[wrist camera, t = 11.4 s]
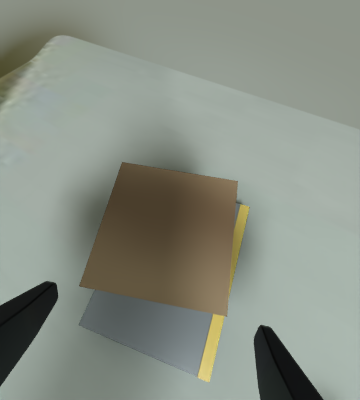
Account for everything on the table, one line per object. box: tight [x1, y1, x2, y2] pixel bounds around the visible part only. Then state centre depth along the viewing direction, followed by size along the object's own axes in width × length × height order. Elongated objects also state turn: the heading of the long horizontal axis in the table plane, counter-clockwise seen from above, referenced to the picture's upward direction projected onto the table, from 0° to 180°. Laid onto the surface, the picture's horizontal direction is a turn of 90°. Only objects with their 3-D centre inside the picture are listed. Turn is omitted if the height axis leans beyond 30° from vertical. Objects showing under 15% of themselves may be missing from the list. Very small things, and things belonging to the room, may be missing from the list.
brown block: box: [79, 162, 238, 317], centre depth 13 cm, size 5×5×13 cm
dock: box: [79, 203, 249, 382], centre depth 20 cm, size 16×12×2 cm
